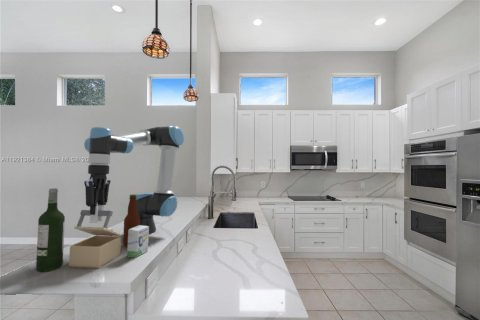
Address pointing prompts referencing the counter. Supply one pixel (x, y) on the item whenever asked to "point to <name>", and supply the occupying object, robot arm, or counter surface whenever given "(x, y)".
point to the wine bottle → (50, 236)
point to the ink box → (137, 241)
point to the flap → (96, 230)
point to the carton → (94, 251)
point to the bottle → (130, 218)
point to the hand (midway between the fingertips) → (96, 221)
